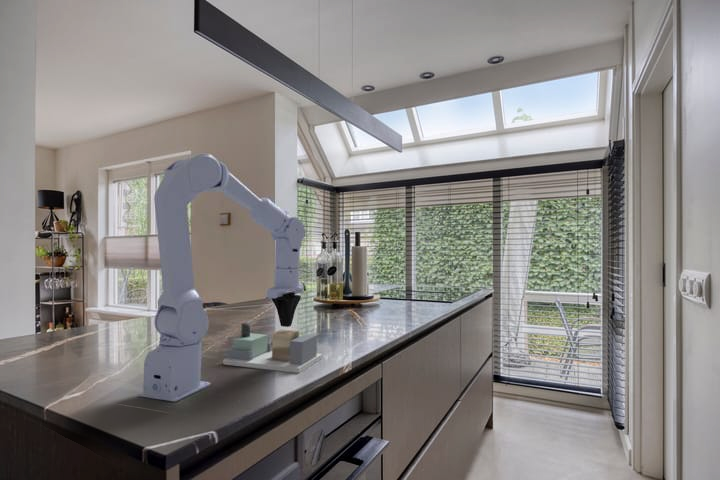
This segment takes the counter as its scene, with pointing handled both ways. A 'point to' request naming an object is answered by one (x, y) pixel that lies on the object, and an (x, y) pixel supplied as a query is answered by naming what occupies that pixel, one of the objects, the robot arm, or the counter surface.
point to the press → (300, 359)
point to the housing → (282, 343)
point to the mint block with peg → (251, 341)
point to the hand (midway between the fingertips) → (285, 326)
